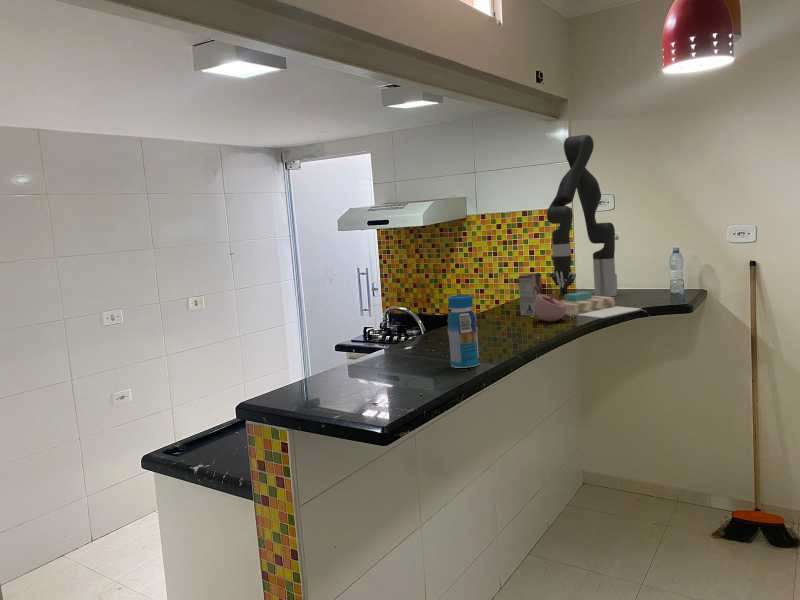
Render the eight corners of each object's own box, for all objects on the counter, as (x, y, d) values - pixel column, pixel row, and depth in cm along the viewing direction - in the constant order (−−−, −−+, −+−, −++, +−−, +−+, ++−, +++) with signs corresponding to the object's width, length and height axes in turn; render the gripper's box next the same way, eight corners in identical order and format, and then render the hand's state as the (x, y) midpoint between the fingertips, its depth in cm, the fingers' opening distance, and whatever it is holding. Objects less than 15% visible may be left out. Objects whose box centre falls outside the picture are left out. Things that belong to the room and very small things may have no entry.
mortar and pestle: (566, 323, 222) (564, 292, 220) (532, 324, 225) (531, 294, 224) (568, 318, 233) (566, 288, 231) (536, 319, 237) (534, 289, 235)
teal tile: (580, 297, 254) (580, 291, 254) (591, 298, 249) (591, 292, 249) (564, 300, 250) (564, 294, 250) (575, 301, 245) (575, 295, 244)
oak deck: (588, 304, 260) (587, 295, 259) (614, 307, 248) (614, 297, 247) (549, 312, 249) (549, 302, 248) (575, 315, 237) (575, 305, 236)
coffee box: (528, 311, 255) (526, 273, 253) (543, 311, 251) (541, 273, 249) (520, 315, 247) (517, 276, 245) (535, 315, 244) (532, 275, 242)
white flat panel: (616, 307, 247) (616, 306, 247) (641, 309, 236) (641, 308, 236) (577, 315, 236) (577, 314, 236) (602, 318, 226) (602, 317, 226)
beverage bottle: (445, 369, 171) (439, 298, 169) (458, 361, 178) (452, 294, 176) (472, 370, 167) (467, 298, 164) (485, 363, 174) (480, 293, 172)
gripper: (580, 253, 250) (582, 295, 252) (556, 253, 261) (559, 294, 264) (566, 255, 246) (569, 298, 248) (543, 255, 258) (546, 296, 260)
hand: (563, 296), depth 256 cm, fingers closed
